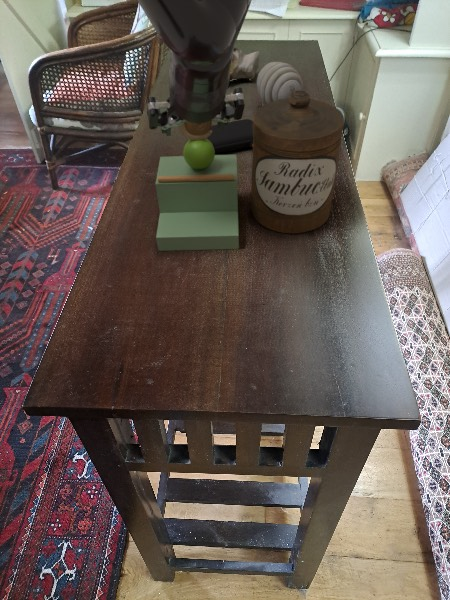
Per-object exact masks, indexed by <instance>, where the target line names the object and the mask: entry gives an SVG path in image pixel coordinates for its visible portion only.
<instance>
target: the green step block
mask: <svg viewBox="0 0 450 600" xmlns="http://www.w3.org/2000/svg"><path fill="white" fill-rule="evenodd" d="M237 159H238V158H237V154H215V156H214V160H213V162H212V163H211V164H210V165H209V166H208V167H207V168H205V169H194V168H192V167H190V166H189V165H188V164H187V163H186V161H185V159H184V155H180V156H179V155H178V156H177V155H175V156H174V155H173V156H172V155H171V156H160V157H159V162H158V168H157V173H156V177H155V178H156V179H155V191H156V196H157V202H158V208H159V217H158V224H157V229H156V236H155V240H156V245H157V246H156V247H157V250H158V251H159V252H160V251H161V252H165V251H166V252H167V251H168V252H169V251H207V250H208V251H210V250H239V249H240V243H239V242H240V239H239V238H240V237H239V236H240V235H239V234H240V233H239V232H240V231H239V211H238V210H239V202H238V201H239V200H238V199H239V197H238V191H239V190H238V189H239V188H238V160H237Z"/></svg>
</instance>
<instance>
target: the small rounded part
mask: <svg viewBox="0 0 450 600" xmlns="http://www.w3.org/2000/svg"><path fill="white" fill-rule="evenodd" d="M212 125H213V121H211V120H210V121H208V122H205V123H191V122H185V123H183V124H182V125H180V126H178V127H177V128H178V130H179V132H180V134H181V135H182V136H183V137H184V138H186V139H188V140H187V141H186V142H185V144H184V146H183V150H182V156H184V159H185V161H186V163H187V164H188V165H189V166H190V167H192V168H194V169H205V168H207V167H208V166H209V165H210V164H211V163H212V162H213V160H214V156H215V155H216V154H215V150H214V147H213V145H212V143H211V142H210V141H209V140H208V139H206V138H208V137H209V136H210V135H211V133H212V130H209V129H210V128H211V126H212Z"/></svg>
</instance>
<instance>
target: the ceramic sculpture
mask: <svg viewBox="0 0 450 600" xmlns="http://www.w3.org/2000/svg"><path fill="white" fill-rule="evenodd" d="M260 52H261V51H260V50H257V51H253V52H250V53H247V54H245V53H244V52H243V51H242V50H241V49H239V48H238V47H237V48H236V47H234V51H233V59H232V63H231V67H230V78H229V83H232V82H233V81H230V80H232V79H239V78H243V79H247V78H249V79H253V80H254V78H255V76H256V73H257V71H258V69H259V64H260ZM239 80H240V79H239ZM249 81H250V82H251V81H252V80H249Z"/></svg>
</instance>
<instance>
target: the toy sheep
mask: <svg viewBox="0 0 450 600" xmlns="http://www.w3.org/2000/svg"><path fill="white" fill-rule="evenodd" d="M303 87H304V85H303V79H302V78H301V76H300V73H299V72H298V71H297V70H296V69H295V67H293V65H291V64H290V63H285V62H283V61H271V62H268V63H267V64H265V65H264V66H262V68H261V69H260V71H259V72H258V73H257V77H256V88H257V94H258V96H259V98H260V100H261V107H262V106H263V105H265V104H267V103H270V102H272V101H276V100H280V99H286V98H289V96H290V95H291V94H292V93H294V92H295V91H297V90H301V91H303Z"/></svg>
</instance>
